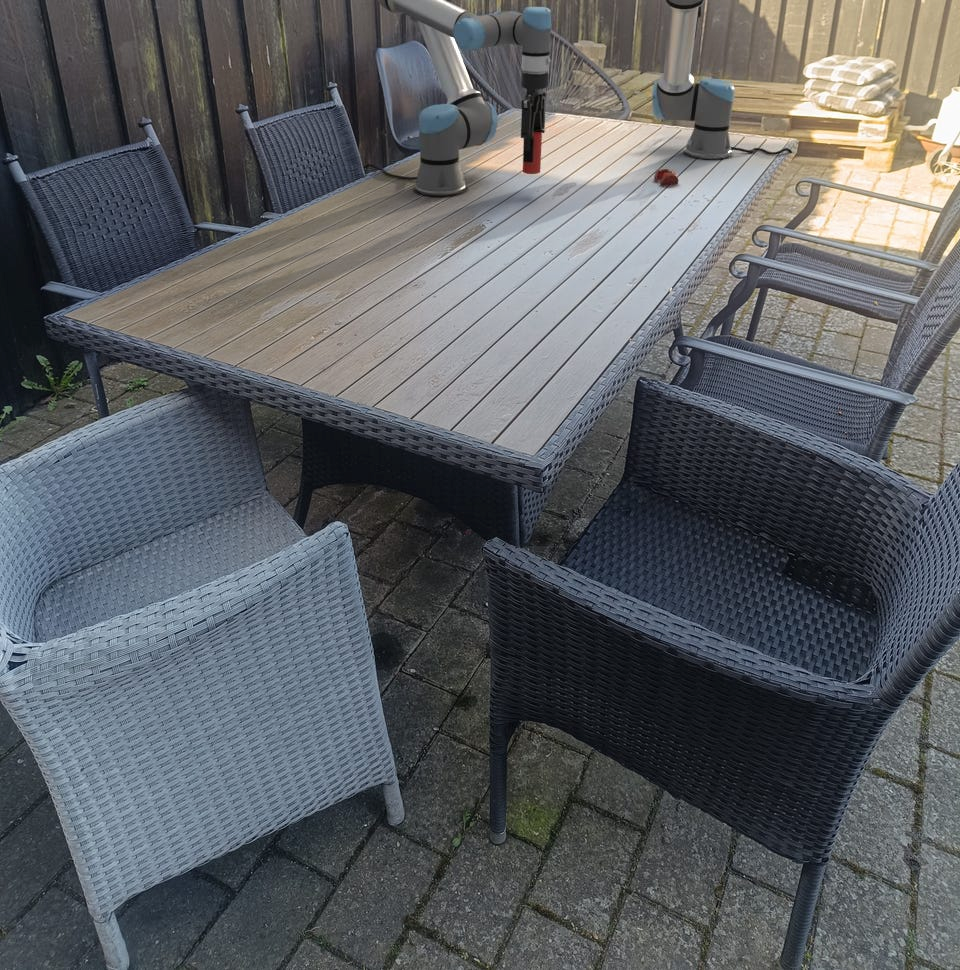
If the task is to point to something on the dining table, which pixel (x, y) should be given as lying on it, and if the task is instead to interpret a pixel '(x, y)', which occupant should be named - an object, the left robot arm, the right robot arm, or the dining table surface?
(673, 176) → the red lumpy piece
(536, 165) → the canister
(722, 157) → the right robot arm
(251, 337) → the dining table surface
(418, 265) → the dining table surface
